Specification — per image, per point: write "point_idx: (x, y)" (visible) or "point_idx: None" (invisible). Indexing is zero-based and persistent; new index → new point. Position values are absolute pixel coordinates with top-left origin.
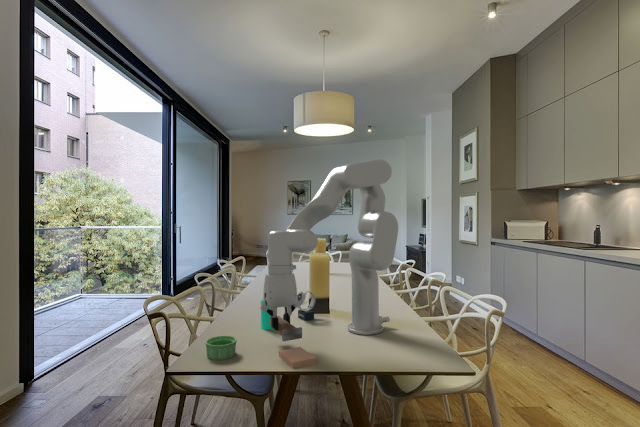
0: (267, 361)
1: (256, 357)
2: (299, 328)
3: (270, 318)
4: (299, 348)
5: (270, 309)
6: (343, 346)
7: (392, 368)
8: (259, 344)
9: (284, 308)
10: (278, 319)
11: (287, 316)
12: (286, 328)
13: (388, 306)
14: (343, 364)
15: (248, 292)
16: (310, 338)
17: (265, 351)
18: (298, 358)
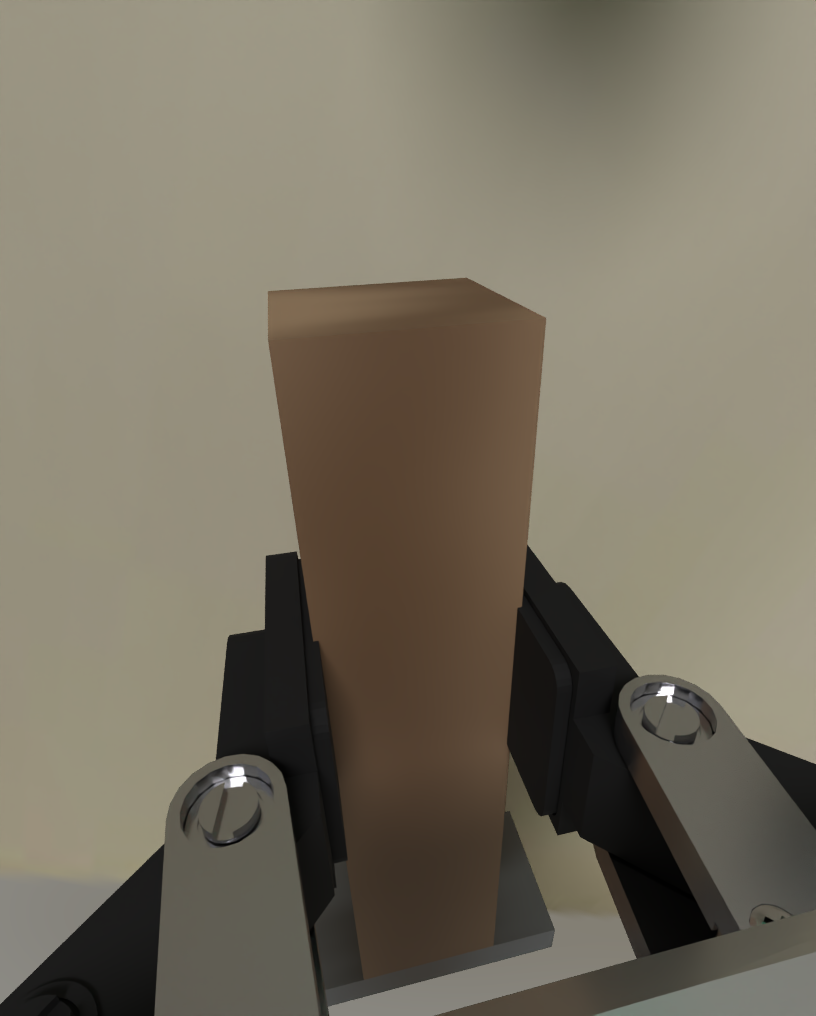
0: (136, 773)
1: (31, 683)
2: (516, 955)
3: (272, 367)
4: None
5: (163, 1004)
6: (799, 645)
7: None
8: (91, 297)
9: (679, 824)
10: (412, 614)
11: (555, 829)
12: (370, 958)
13: None
14: (591, 868)
15: None
16: (749, 356)
17: (148, 565)
18: None
